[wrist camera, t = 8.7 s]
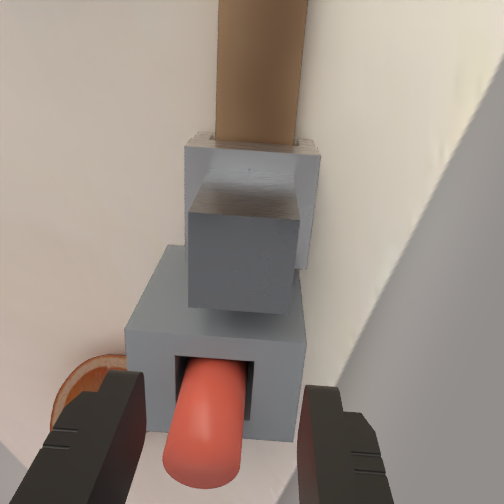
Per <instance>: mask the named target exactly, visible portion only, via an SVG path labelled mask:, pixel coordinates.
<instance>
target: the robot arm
mask: <svg viewBox="0 0 504 504" xmlns="http://www.w3.org/2000/svg"><path fill="white" fill-rule="evenodd" d="M146 425H147V418H146V399H145V381H144V374H143V372H137V371H124V370H109V371H108V372H107V374H106V376H105V378H104V380H103V382H102V384H101V386H100V388H99V390H98V392H90V391H82V392H81V393H80V394H79V395H78V396H77V397H75V398H74V399H73V400H72V401H71V402H70V403H68V404H67V405H66V406H65V407H64V408H63V410H62V412H61V414H60V415H59V417H58V419H57V421H56V422H55V424H54V426H53V429H52V432H51V431H50V433H49V435H48V436H47V438H46V440H45V442H44V443H43V448H42V449H40V450H39V452H38V454H37V456H36V457H35V459H34V461H33V463H32V464H31V466H30V468H29V470H28V471H27V473H26V475H25V477H24V478H23V481H22V482H21V484H20V486H19V487H18V489H17V491H16V493H15V494H14V496H13V498H12V500H11V501H10V503H9V504H125V502H126V499H127V496H128V493H129V490H130V486H131V483H132V480H133V477H134V474H135V471H136V468H137V465H138V461H139V458H140V455H141V452H142V449H143V445H144V440H145V435H146ZM297 467H298V484H299V500H300V504H394V502H393V498H392V494H391V491H390V487H389V483H388V479H387V477H386V475H385V473H386V472H385V468H384V464H383V460H382V458H381V453H380V449H379V445H378V441H377V437H376V433H375V431H374V430H373V428H372V427H371V426H370V425H369V423H368V422H367V420H366V419H365V418H364V416H363V415H362V413H356V412H343V408H342V402H341V397H340V392H339V389H338V388H337V387H328V386H315V385H306V386H305V389H304V395H303V402H302V409H301V416H300V423H299V430H298V440H297Z"/></svg>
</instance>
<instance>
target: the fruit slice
mask: <svg viewBox="0 0 504 504" xmlns="http://www.w3.org/2000/svg"><path fill="white" fill-rule="evenodd" d="M109 370H124V371H127V358H126V356H124V355H111V354H108V355H102V356H98V357H94V358H91V359H89V360H87V361H85V362H84V363H82V364H81V365H80V366H78V367H77V368H76V369H75V370H74V371H73V372H72V373H71V374H70V375H69V377H68V378H67V379H66V381H65V382H64V383H63V385H62V386H61V388H60V390H59V392H58V394H57V396H56V399H55V402H54V405H53V410H52V414H51V422H50V431H51V432H52V429H53V426H54V424H55V422H56V421H57V419H58V417H59V415H60V414H61V412H62V410H63V408H64V407H65V406H66V405H67V404H68V403H70V402H71V401H72V400H73V399H74V398H75V397H77V396H78V395H79V394H80V393H81V392H82V391H90V392H98V390H99V388H100V386H101V384H102V382H103V380H104V378H105V376H106V374H107V372H108V371H109ZM146 432H149V431H146Z"/></svg>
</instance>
